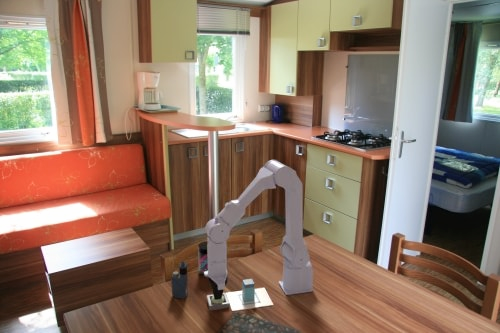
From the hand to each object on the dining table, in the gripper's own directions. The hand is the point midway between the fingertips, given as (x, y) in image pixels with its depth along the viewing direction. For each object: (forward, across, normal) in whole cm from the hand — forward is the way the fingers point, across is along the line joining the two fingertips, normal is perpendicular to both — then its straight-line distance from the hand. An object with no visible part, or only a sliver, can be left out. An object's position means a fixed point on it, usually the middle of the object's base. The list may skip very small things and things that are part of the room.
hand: (217, 298), depth 125 cm
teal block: (+2, 0, +10) cm, 10 cm away
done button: (+2, 0, 0) cm, 2 cm away
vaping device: (+2, -7, -11) cm, 13 cm away
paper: (+2, 0, +10) cm, 10 cm away
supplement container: (+2, -20, 0) cm, 20 cm away
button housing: (+2, 0, 0) cm, 2 cm away
